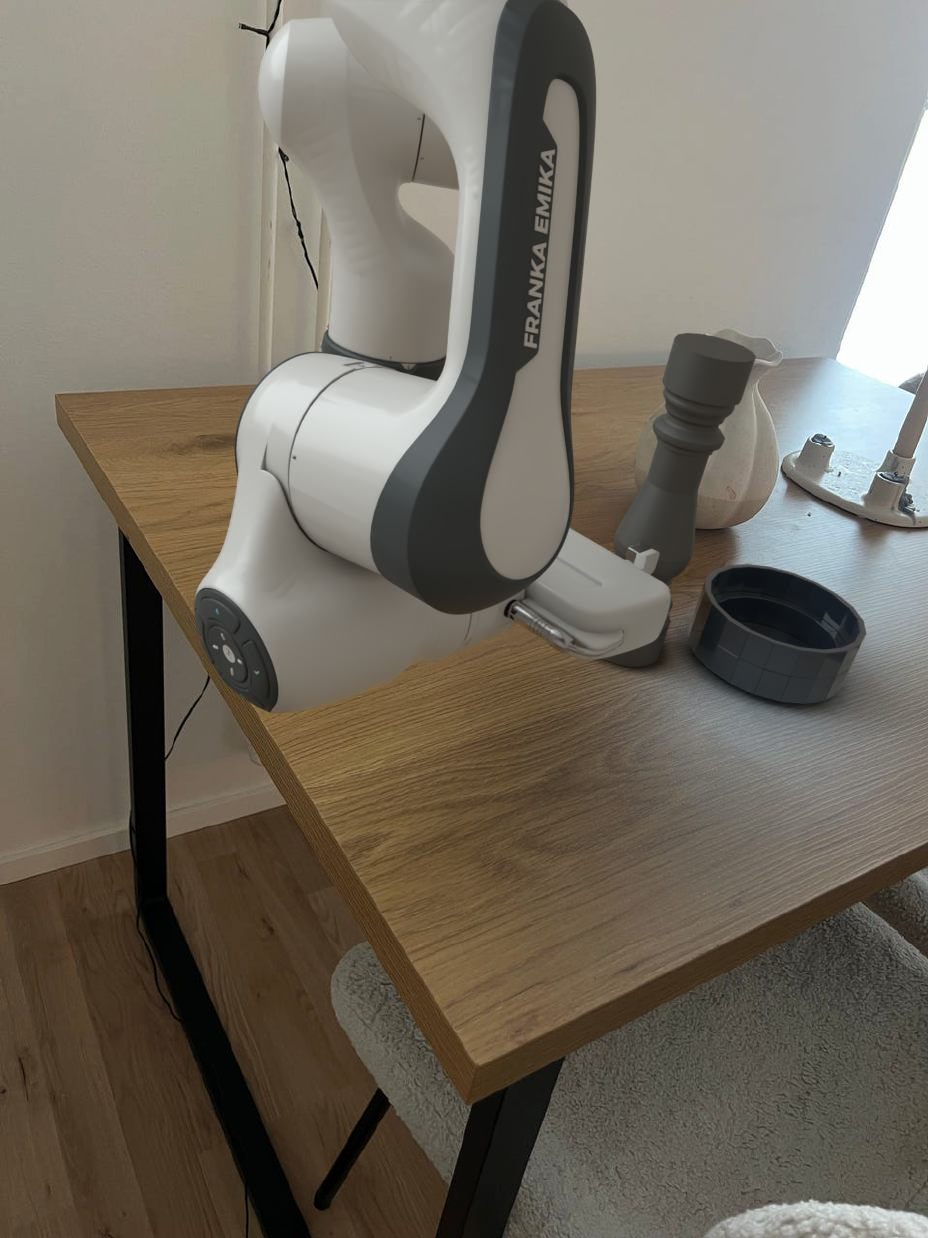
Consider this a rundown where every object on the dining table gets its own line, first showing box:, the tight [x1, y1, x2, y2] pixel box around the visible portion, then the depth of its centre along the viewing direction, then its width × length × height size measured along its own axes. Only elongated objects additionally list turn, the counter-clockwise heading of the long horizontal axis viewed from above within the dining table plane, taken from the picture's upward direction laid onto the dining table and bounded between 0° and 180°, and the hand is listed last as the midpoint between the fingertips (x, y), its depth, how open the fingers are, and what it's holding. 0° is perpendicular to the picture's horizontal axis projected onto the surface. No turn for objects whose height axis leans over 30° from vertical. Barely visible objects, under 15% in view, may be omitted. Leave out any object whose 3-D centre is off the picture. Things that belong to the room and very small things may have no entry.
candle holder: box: [602, 332, 757, 668], centre depth 76 cm, size 6×6×25 cm
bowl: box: [687, 563, 867, 705], centre depth 83 cm, size 13×13×6 cm
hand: (595, 526), depth 70 cm, fingers open, 8 cm apart
